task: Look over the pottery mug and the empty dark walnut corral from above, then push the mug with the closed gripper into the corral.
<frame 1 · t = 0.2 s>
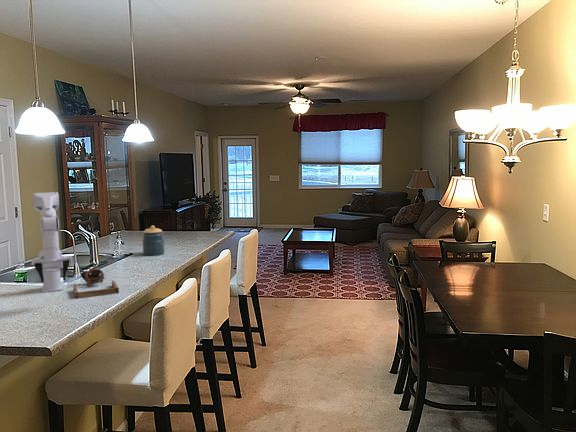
hand: (53, 280, 194), 10 cm above the worktop, tool pointing down, fingers open, 7 cm apart
corral: (95, 291, 215), on the worktop
pottery mug: (93, 284, 227), on the worktop
canister: (153, 254, 297), on the worktop
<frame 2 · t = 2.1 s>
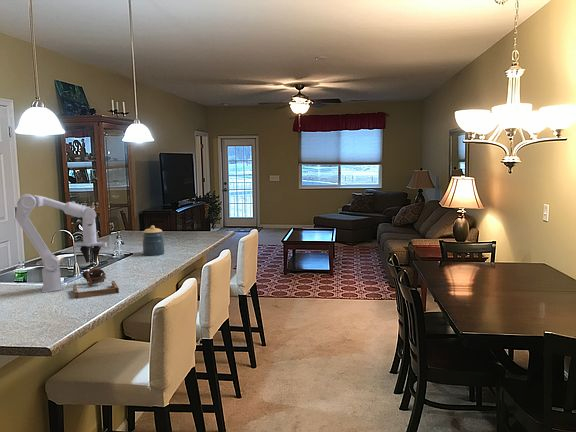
hand: (91, 262, 226), 10 cm above the worktop, tool pointing down, fingers open, 3 cm apart
nothing on the worktop moved.
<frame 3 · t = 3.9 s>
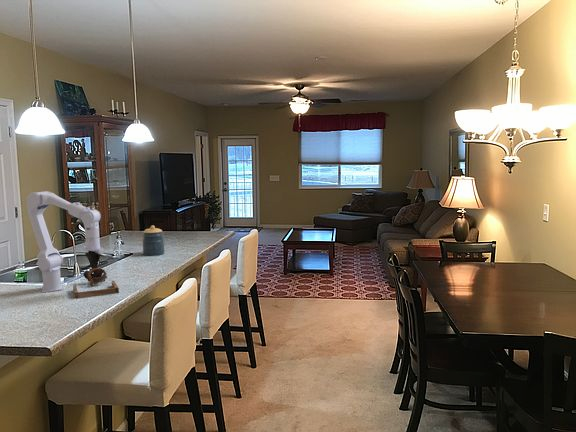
hand: (94, 268, 214), 10 cm above the worktop, tool pointing down, fingers closed
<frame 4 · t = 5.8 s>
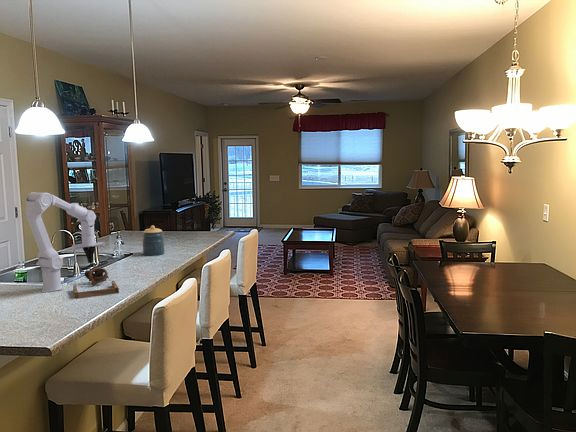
hand: (89, 262, 235), 8 cm above the worktop, tool pointing down, fingers closed
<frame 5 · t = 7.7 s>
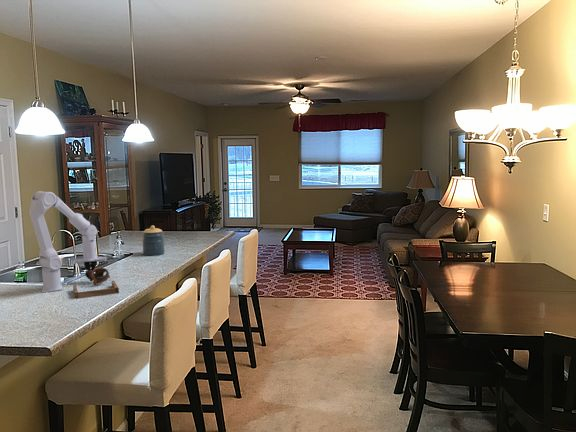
hand: (91, 277, 233), 2 cm above the worktop, tool pointing down, fingers closed, pressing on pottery mug
pottery mug: (97, 283, 229), on the worktop, touching gripper
everything else where it was.
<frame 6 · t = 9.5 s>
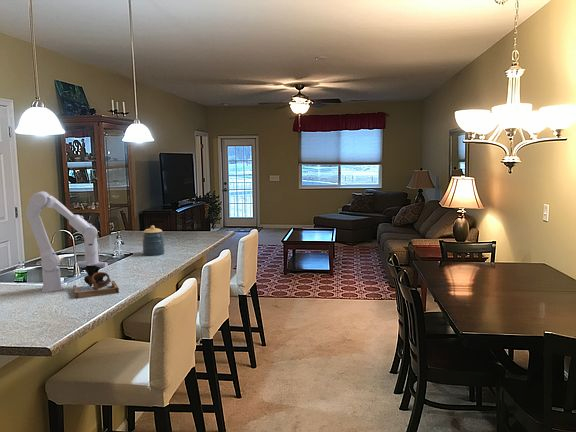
hand: (93, 281, 224), 2 cm above the worktop, tool pointing down, fingers closed
pottery mug: (98, 288, 220), on the worktop, touching gripper
everything else where it was.
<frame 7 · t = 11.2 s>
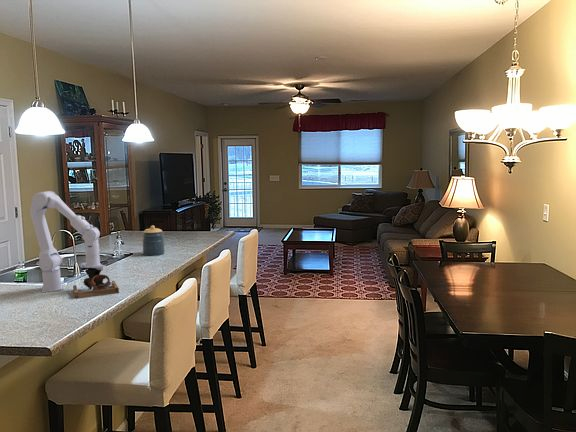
hand: (94, 284, 219), 2 cm above the worktop, tool pointing down, fingers closed
pottery mug: (98, 291, 215), on the worktop, touching gripper
everything else where it was.
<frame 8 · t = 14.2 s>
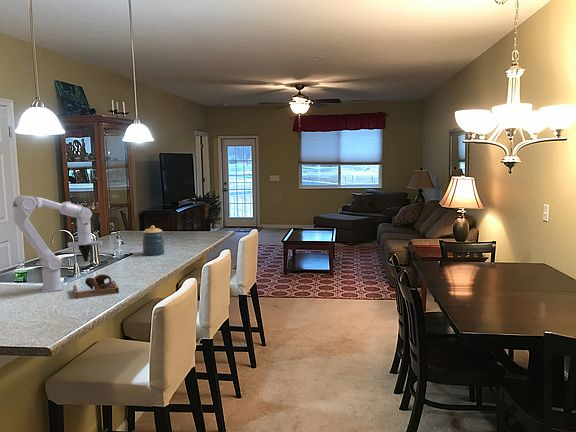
hand: (86, 261, 229), 10 cm above the worktop, tool pointing down, fingers closed
pottery mug: (99, 291, 216), on the worktop
everything else where it was.
at the end: pottery mug inside the target area on the corral (2.1 cm from its centre), point 0.0 cm above the corral's base; pottery mug tilted 0°; pottery mug moved 13.7 cm from its start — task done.
